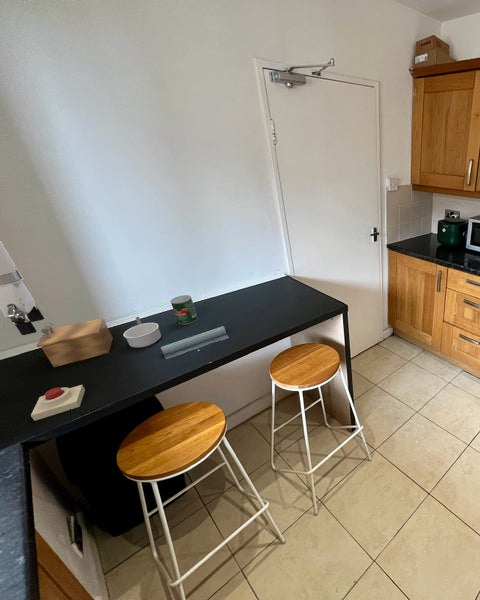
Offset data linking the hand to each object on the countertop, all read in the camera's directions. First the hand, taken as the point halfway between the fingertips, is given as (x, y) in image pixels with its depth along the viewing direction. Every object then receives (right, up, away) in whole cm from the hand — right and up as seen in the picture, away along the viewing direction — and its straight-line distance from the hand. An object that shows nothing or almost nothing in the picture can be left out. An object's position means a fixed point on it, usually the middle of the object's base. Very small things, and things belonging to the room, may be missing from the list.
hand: (33, 326), depth 102 cm
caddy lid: (-5, -4, +17) cm, 18 cm away
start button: (+13, -21, -5) cm, 25 cm away
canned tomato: (+21, -1, +43) cm, 48 cm away
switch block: (+13, -24, -3) cm, 27 cm away
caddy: (-5, -12, +21) cm, 25 cm away
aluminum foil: (+37, -10, +25) cm, 46 cm away
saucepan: (+11, -7, +30) cm, 33 cm away
